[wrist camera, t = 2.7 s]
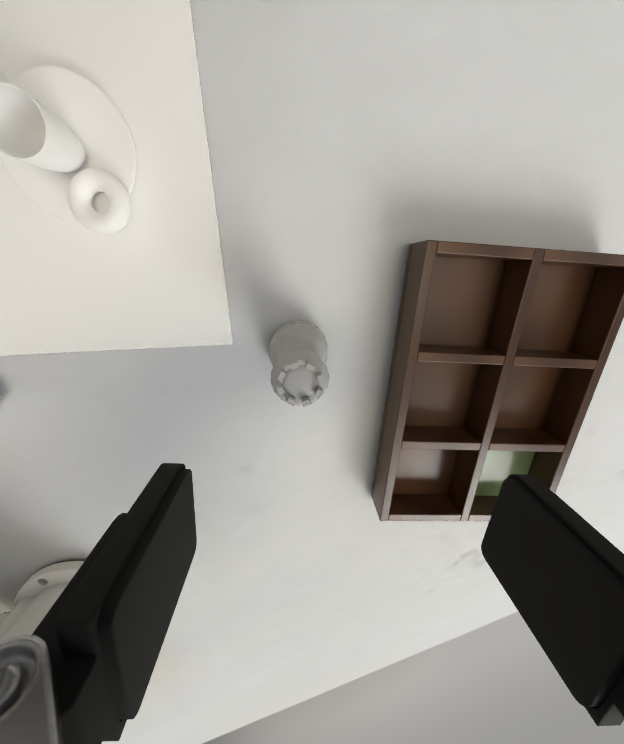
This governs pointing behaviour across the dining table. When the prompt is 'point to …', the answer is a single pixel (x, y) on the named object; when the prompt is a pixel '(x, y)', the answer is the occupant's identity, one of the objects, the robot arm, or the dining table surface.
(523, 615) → the robot arm
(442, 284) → the tray
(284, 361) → the rook chess piece
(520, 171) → the dining table surface
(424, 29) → the dining table surface
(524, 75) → the dining table surface
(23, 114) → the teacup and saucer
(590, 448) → the dining table surface
